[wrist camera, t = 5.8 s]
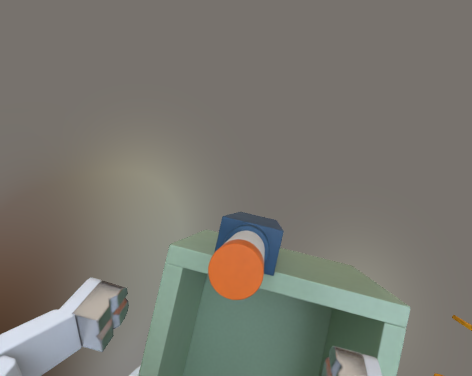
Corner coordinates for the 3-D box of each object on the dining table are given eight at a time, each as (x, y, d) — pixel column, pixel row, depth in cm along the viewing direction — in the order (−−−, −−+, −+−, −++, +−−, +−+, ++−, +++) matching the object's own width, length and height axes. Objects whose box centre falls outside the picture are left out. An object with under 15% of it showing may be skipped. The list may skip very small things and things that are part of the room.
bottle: (278, 323, 11) (295, 247, 11) (178, 295, 12) (194, 222, 12) (270, 247, 32) (276, 220, 32) (234, 238, 32) (240, 211, 32)
